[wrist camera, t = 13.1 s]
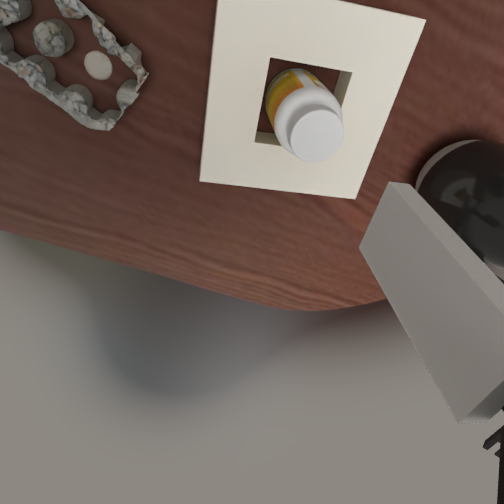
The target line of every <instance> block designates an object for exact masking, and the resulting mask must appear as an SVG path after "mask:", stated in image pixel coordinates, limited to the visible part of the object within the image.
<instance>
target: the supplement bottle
mask: <svg viewBox="0 0 504 504" xmlns="http://www.w3.org/2000/svg"><path fill="white" fill-rule="evenodd" d="M265 108H266V112H267V115H268V117H269V120H270V122H271V124H272V127H273V129H274V132H275V134H276V137H277V139H278V141H279V143H280V144H281V145H282V147H283V148H284V149H285V150H287V151H288V152H290V153H291V154H293V155H296V156H297V157H298V158H299V159H301V160H303V161H305V162H309V163H317V162H322V161H324V160H327V159H328V158H330V157H331V156H333V155H334V154H335V153H336V152H337V150H338V149H339V148H340V146H341V144H342V141H343V138H344V127H343V123H342V121H343V116H342V110H341V107H340V104H339V103H338V101H337V99H336V98H335V97H334V95H333V94H332V93H331V92H330V91H329V90H328V89H327V88H326V87H325V86H324V85H323V84H322V83H321V82H320V81H319V80H318V79H317V78H316V77H315V76H314V75H313V74H312V73H310V72H309V71H307V70H304V69H300V68H292V69H288V70H285V71H283V72H281V73H280V74H278V75H277V76H276V77H275V78H274V79H273V80H272V81H271V83H270V84H269V86H268V88H267V91H266V95H265Z"/></svg>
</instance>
